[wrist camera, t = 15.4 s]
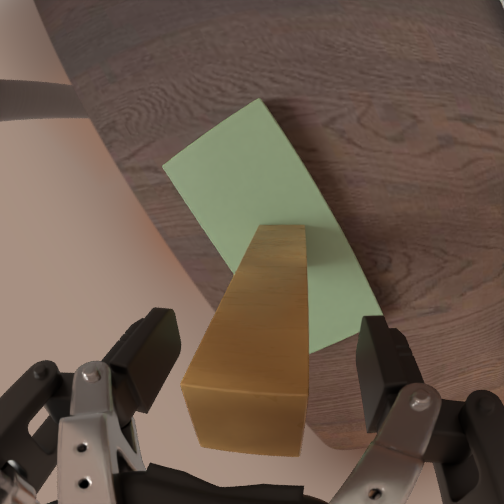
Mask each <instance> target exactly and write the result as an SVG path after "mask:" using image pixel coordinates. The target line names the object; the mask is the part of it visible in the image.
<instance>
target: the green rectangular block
mask: <svg viewBox="0 0 504 504" xmlns="http://www.w3.org/2000/svg"><path fill="white" fill-rule="evenodd" d="M162 167H163V169H164V170H165V172H166V173H167V175H168V176H169V178H170V180H171V181H172V183H173V184H174V186H175V187H176V189H177V190H178V192H179V193H180V195H181V196H182V198H183V199H184V201H185V202H186V204H187V205H188V207H189V208H190V210H191V211H192V213H193V214H194V216H195V217H196V219H197V220H198V222H199V223H200V225H201V226H202V228H203V229H204V231H205V232H206V234H207V235H208V237H209V238H210V240H211V241H212V243H213V244H214V246H215V247H216V249H217V250H218V252H219V253H220V254H221V256H222V257H223V259H224V260H225V262H226V263H227V265H228V266H229V268H230V269H231V270H232V272H233V273H234V274H235V272H236V270H237V268H238V266H239V264H240V262H241V260H242V258H243V256H244V254H245V252H246V250H247V248H248V246H249V244H250V242H251V240H252V238H253V236H254V234H255V232H256V230H257V228H258V226H259V225H305V234H306V252H307V275H308V307H309V354H310V353H313V352H315V351H318V350H320V349H322V348H325V347H327V346H329V345H332V344H334V343H336V342H339V341H341V340H343V339H345V338H348V337H350V336H352V335H354V334H356V333H358V332H360V327H361V321H362V317H363V316H371V315H383V313H382V310H381V308H380V306H379V304H378V301H377V299H376V297H375V295H374V293H373V291H372V289H371V286H370V284H369V282H368V280H367V278H366V276H365V274H364V272H363V270H362V268H361V266H360V264H359V262H358V260H357V258H356V256H355V254H354V252H353V250H352V248H351V246H350V244H349V242H348V241H347V239H346V237H345V235H344V233H343V231H342V229H341V227H340V226H339V224H338V222H337V220H336V218H335V216H334V215H333V213H332V211H331V209H330V207H329V206H328V204H327V202H326V200H325V199H324V197H323V195H322V193H321V192H320V190H319V188H318V187H317V185H316V183H315V181H314V180H313V178H312V176H311V175H310V173H309V171H308V170H307V168H306V167H305V165H304V163H303V162H302V160H301V158H300V157H299V155H298V154H297V152H296V150H295V149H294V147H293V146H292V144H291V143H290V141H289V139H288V138H287V136H286V135H285V133H284V132H283V130H282V129H281V127H280V126H279V124H278V123H277V121H276V120H275V118H274V117H273V115H272V114H271V112H270V111H269V109H268V108H267V107H266V105H265V104H264V102H263V101H262V100H261V99H260V98H258V99H256V100H255V101H253V102H251V103H250V104H248V105H247V106H245V107H244V108H242V109H241V110H239V111H237V112H236V113H234V114H233V115H231V116H230V117H228V118H227V119H225V120H224V121H222V122H221V123H220V124H218V125H217V126H215V127H214V128H212V129H211V130H209V131H208V132H207V133H205V134H204V135H202V136H201V137H200V138H198V139H197V140H196V141H194V142H193V143H191V144H190V145H189V146H187V147H186V148H185V149H183V150H182V151H181V152H180V153H178V154H177V155H176V156H174V157H173V158H172V159H170V160H169V161H168V162H167V163H165V164H164V165H163V166H162ZM383 316H384V315H383Z"/></svg>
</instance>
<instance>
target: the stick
mask: <svg viewBox="0 0 504 504" xmlns="http://www.w3.org/2000/svg"><path fill="white" fill-rule="evenodd" d="M180 386H181V389H182V392H183V396H184V399H185V402H186V405H187V408H188V411H189V415H190V417H191V421H192V423H193V426H194V429H195V432H196V435H197V437H198V441H199V443H200V446H201V447H204V448H211V449H216V450H223V451H230V452H238V453H246V454H258V455H269V456H286V457H299V456H300V454H301V448H302V441H303V434H304V428H305V420H306V413H307V405H308V397H309V307H308V275H307V252H306V234H305V225H259V226H258V228H257V230H256V232H255V234H254V236H253V238H252V240H251V242H250V244H249V246H248V248H247V250H246V252H245V254H244V256H243V258H242V260H241V262H240V264H239V266H238V268H237V270H236V272H235V274H234V276H233V278H232V280H231V282H230V284H229V286H228V288H227V290H226V292H225V294H224V296H223V298H222V300H221V302H220V304H219V306H218V308H217V310H216V312H215V314H214V316H213V318H212V320H211V322H210V324H209V326H208V328H207V331H206V333H205V335H204V337H203V339H202V341H201V343H200V345H199V347H198V349H197V351H196V353H195V355H194V357H193V359H192V361H191V363H190V365H189V367H188V369H187V371H186V373H185V375H184V377H183V379H182V381H181V383H180Z"/></svg>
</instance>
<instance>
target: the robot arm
mask: <svg viewBox="0 0 504 504" xmlns="http://www.w3.org/2000/svg"><path fill="white" fill-rule="evenodd" d="M180 351H181V339H180V335H179V330H178V326H177V321H176V316H175V313H174V311H173V309H166V308H156V307H155V308H153V309H152V310H151V311H150V312H149V314H148V315H147V316H146V317H145V318H142V319H140V320H138V321H137V322H135V323H134V324H132V325H131V326H130V327H129V329H128V330H127V331H126V332H125V334H123V336H122V337H121V338H120V341H118V342H117V343H116V344H115V345H114V346H113V347H112V349H111V350H110V351H109V352H108V354H107V355H106V356H105V357H104V358H103V359H102V361H91V362H88V363H85V364H83V365H82V366H80V367H79V368H78V369H77V370H76V372H75V373H60V371H59V370H58V367H57V366H56V364H55V363H54V362H52V361H48V360H45V361H41V362H37V363H36V364H34V365H33V366H31V367H30V368H29V369H28V370H27V371H26V372H25V373H24V374H23V375H22V376H21V377H20V378H19V379H18V380H17V381H16V382H15V383H14V384H13V385H12V386H11V387H10V388H9V389H8V390H7V391H6V392H5V393H4V394H3V395H2V396H1V398H0V504H40V503H39V501H38V500H37V499H36V494H37V493H38V491H39V490H40V488H41V487H42V485H43V484H44V483H45V481H46V480H47V478H48V477H49V475H50V474H51V472H52V471H53V469H54V468H55V467H56V465H57V489H58V500H56V501H53V502H50V503H47V504H405V503H406V501H407V500H408V497H409V496H410V494H411V492H412V490H413V488H414V485H415V483H416V481H417V479H418V477H419V475H420V473H421V470H422V468H423V465H424V462H432V463H433V465H434V469H435V473H436V477H437V481H438V484H439V488H440V493H441V497H442V502H443V504H504V405H503V404H502V402H501V400H500V399H499V397H498V396H497V395H495V394H494V393H492V392H490V391H487V390H477V391H474V392H472V393H471V394H470V395H469V396H468V398H467V399H466V401H465V402H463V401H452V400H445V399H441V396H440V394H439V393H438V391H437V390H436V389H435V388H433V387H432V386H430V385H427V384H425V383H424V381H423V378H422V375H421V373H420V370H419V368H418V366H417V363H416V361H415V358H414V356H412V354H413V353H412V351H411V349H410V348H409V344H408V342H407V340H406V337H405V336H404V335H403V334H402V333H401V332H400V331H399V330H398V329H397V328H388V325H387V323H386V320H385V318H384V316H383V315H371V316H363V317H362V321H361V327H360V333H359V339H358V344H357V350H356V366H357V372H358V377H359V383H360V389H361V395H362V402H363V408H364V415H365V422H366V429H367V433H375V432H377V435H376V437H375V439H374V440H373V441H372V442H371V443H370V445H369V446H368V448H367V449H366V451H365V453H364V454H363V456H362V458H361V459H360V460H359V462H358V463H357V465H356V466H355V468H354V469H353V471H352V472H351V474H350V475H349V477H348V478H347V479H346V481H345V482H344V484H343V485H342V486H341V488H340V489H339V490H338V492H337V493H336V494H335V496H334V497H333V498H332V500H331V501H330V502H329V503H327V502H325V501H323V500H321V499H318V498H315V497H312V496H308V495H304V494H303V490H304V486H292V485H271V484H258V485H248V486H235V487H219V486H216V485H213V484H211V483H208V482H206V481H204V480H201V479H199V478H197V477H195V476H193V475H190V474H188V473H186V472H184V471H180V470H175V469H172V468H168V467H164V466H160V465H157V464H153V463H150V464H149V466H148V468H147V470H146V468H145V466H144V464H143V461H142V457H141V453H140V448H139V442H138V437H137V431H136V425H135V420H134V418H133V415H134V413H135V411H138V412H142V413H146V414H147V413H148V411H149V409H150V408H151V406H152V404H153V402H154V400H155V398H156V397H157V395H158V393H159V391H160V389H161V387H162V386H163V384H164V382H165V380H166V378H167V377H168V375H169V373H170V371H171V369H172V367H173V366H174V364H175V362H176V360H177V358H178V357H179V354H180ZM43 406H44V407H45V409H46V410H47V412H48V413H49V416H48V418H47V419H46V420H45V421H44V423H43V424H42V425H41V426H40V428H39V429H38V430H37V431H36V432H35V434H34V435H33V436H32V437H31V435H30V434H29V432H28V424H29V422H30V421H31V420H32V418H33V417H34V416H35V415H36V414H37V413H38V411H39V410H40V409H41V408H42V407H43Z"/></svg>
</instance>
